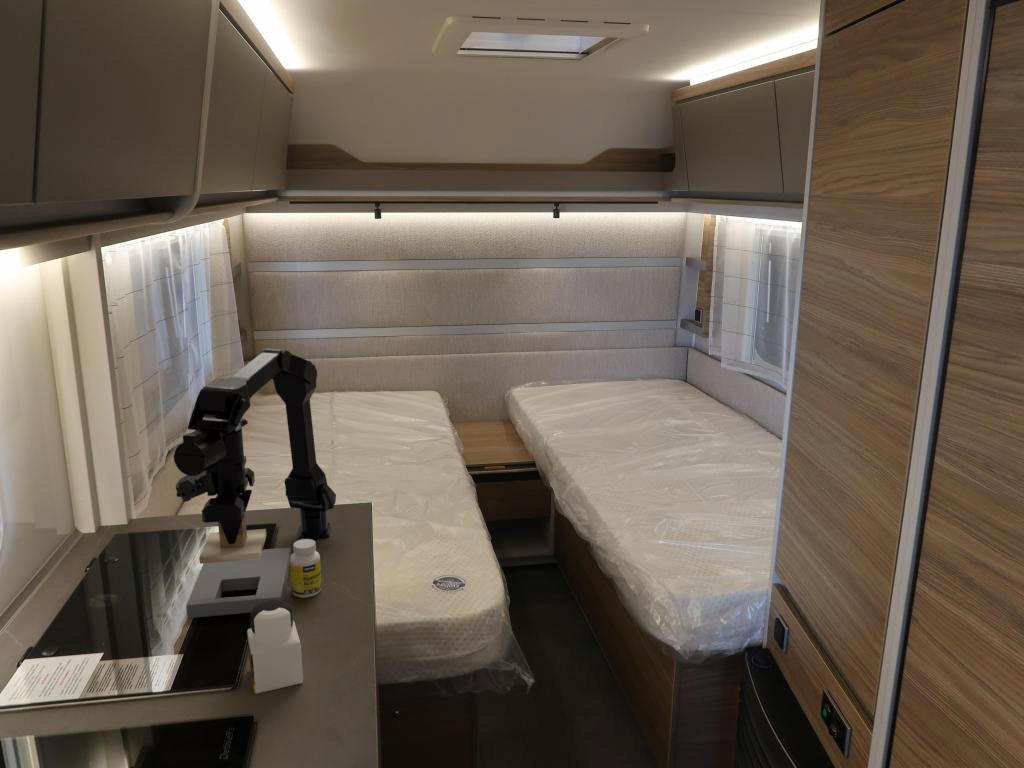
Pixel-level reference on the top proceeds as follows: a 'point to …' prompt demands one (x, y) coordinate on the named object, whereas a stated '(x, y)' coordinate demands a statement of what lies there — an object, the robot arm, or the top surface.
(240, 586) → the board
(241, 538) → the lid
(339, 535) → the top surface
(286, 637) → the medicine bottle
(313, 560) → the supplement bottle
